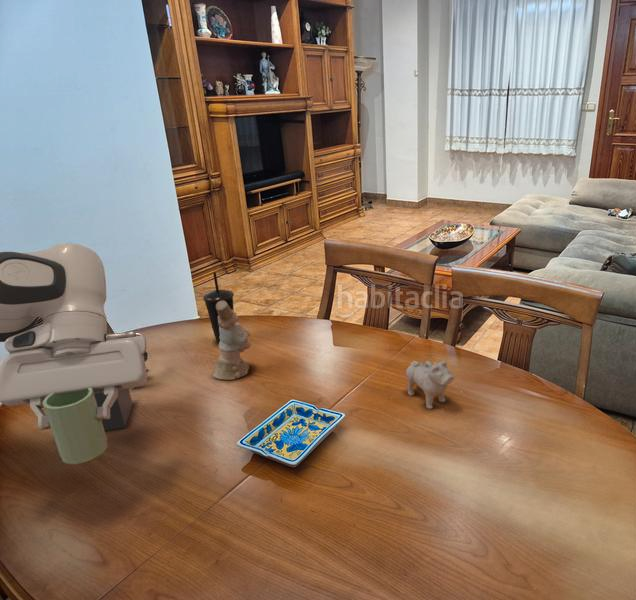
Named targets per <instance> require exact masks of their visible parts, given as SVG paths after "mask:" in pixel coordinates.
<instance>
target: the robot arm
mask: <svg viewBox="0 0 636 600" xmlns="http://www.w3.org/2000/svg"><path fill="white" fill-rule="evenodd" d="M106 280H107V279H106V272H105V267H104V263H103V260H102V259H101V257H100V256H99V254H98V253H97V252H95V250H93V249H91V248H89V247H87V246H85V245H81V244H77V243H72V242H70V243H69V242H64V243H58V244H55V245H53V246H51V247H49V248H47V249H42V250H37V251H31V252H17V251H0V343H4V349H5V350H6V351H7V352H8V354H7V355H5V356H4V357H2V359H1V360H0V403H1V404H2V405H5V406H7V407H17V406H23V405H29V408H30V409H31V411H32V412H33V413H34V415H35V416H36V417H37V429H38V430H41V431H45V430H50V429H51V427H50V424H49V421H48V418H47V415H46V412H45V410H43V409H44V406H43V403H42V402H43V400H44V399H45V397H47V396H48V395H49V394H51V393H55V394H64V393H71V392H77V391H84V390H87V388H90V387H92V389H93V392H94V394H95V393H102V392H104V394H105V395H106V396H107V398H106V400H105V401H104V403H103V405H102V406H101V407H96V412H97V414H96V418H97V419H98V420H105V419H110V408H111V407H112V405H113V404H114V402H115V400H116V399H117V397H118V390H121V389H127V388H129V389H133V388H134V387H136V388H139V387H143V386H144V385H145V383H146V382H147V380H148V379H147V378H148V372H147V371H146V370H147V366H146V362H145V360H144V356H143V354H144V353H145V351H146V352H147V339H146V337H145V335H143V334H142V333H139V332H136V331H134V330H131V331H126V332H116V333H108V319H107V315H106V312H105V304H106V301H107V281H106ZM39 318H40V319H42V323H41V324H39V325H38V322H39ZM134 389H135V388H134Z"/></svg>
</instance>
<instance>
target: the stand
mask: <svg viewBox="0 0 636 600" xmlns="http://www.w3.org/2000/svg"><path fill="white" fill-rule="evenodd" d="M94 396H95V399H96V403H97V406H98V407H101V406H102V405H103V403H104V401H105V400H106V398H107V396H106V395H105V394H104V392H102V393H95V394H94ZM132 406H133V400H132V396H131V392H130V388H127V389H121V390H118V397H117V399H116V400H115V402H114V404H113V405H112V407H111V408H110V419H105V420H102V424H103V427H104V431H105V432H107V431H111V430H112V431H113V430H118V429H124V428H126V426H127V423H128V420H129V416H130V413H131V410H132Z"/></svg>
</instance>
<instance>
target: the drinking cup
mask: <svg viewBox="0 0 636 600" xmlns="http://www.w3.org/2000/svg"><path fill="white" fill-rule="evenodd" d="M212 276H213V281H214V285H215V286H214V287H215V289H214V290H211V291H209V292H207V293H206V294H204V295H203V296H202V300H203V301H204V303H205V307H206V310H207V315H208V317H209V321H210V324H211V327H212V332H213V334H214V338H215V342H216V344H217V346H219V342H220V338H219V336H220V334H219V327H220V326H218V324H219V323H218V318H217V317H218V316H219V315H218V312H217V310H216V304H217V303H218V302H219V301H226V302H227V304H228V305H229V307H230V308H231V309H232V310H233V312H234V313H235V311H234V310H235V309H234V295H235V294H234V292H233V291H232V290H227V289H219V284H218V283H219V282H218V277H217V271H215V272H214V271H213V272H212Z"/></svg>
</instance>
